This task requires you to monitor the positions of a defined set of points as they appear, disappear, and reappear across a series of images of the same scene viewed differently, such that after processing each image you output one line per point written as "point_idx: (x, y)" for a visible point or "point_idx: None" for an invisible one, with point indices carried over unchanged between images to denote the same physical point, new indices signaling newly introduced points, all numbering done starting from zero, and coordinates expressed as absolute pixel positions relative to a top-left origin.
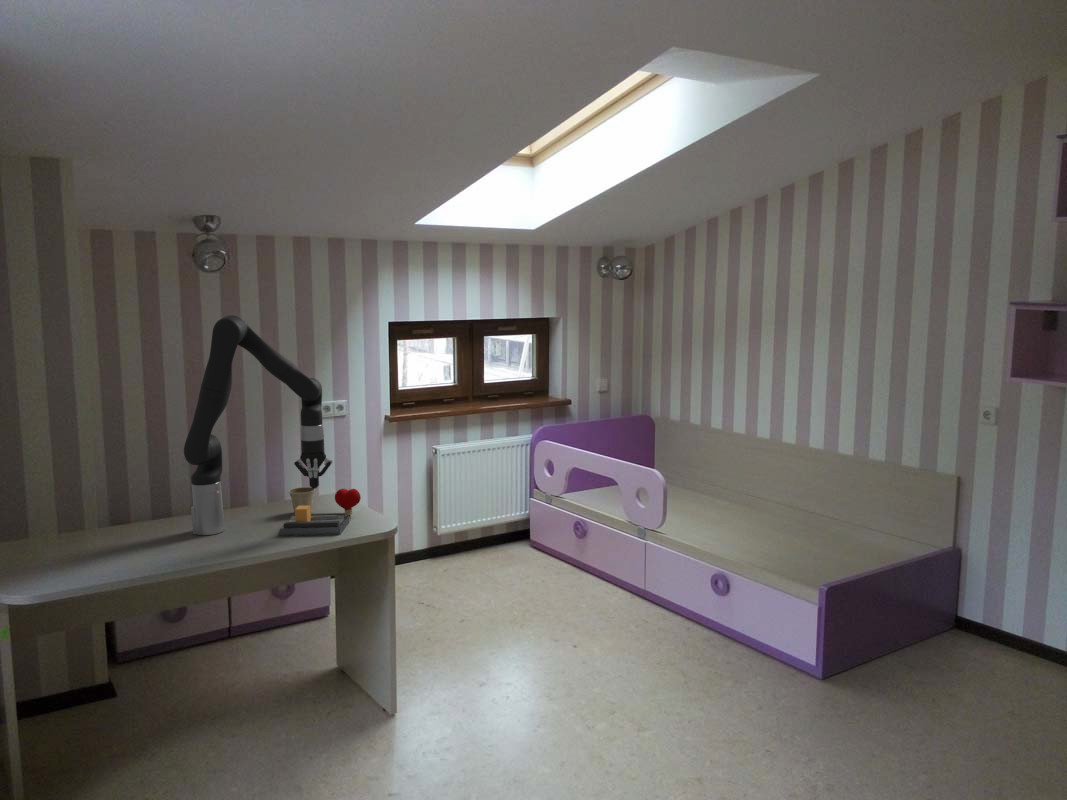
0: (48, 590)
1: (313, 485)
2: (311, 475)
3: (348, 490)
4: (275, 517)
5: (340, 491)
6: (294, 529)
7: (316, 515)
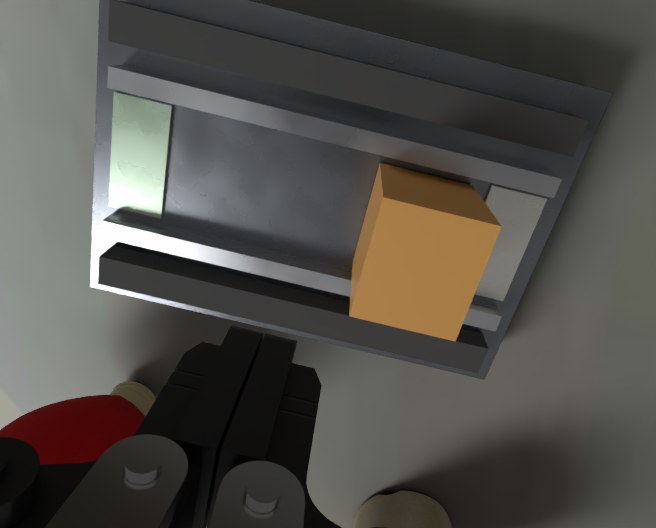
0: None
1: (256, 360)
2: (235, 507)
3: None
4: (558, 498)
5: None
6: (488, 62)
7: (311, 303)
